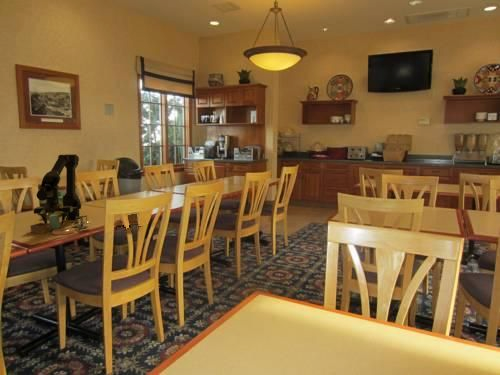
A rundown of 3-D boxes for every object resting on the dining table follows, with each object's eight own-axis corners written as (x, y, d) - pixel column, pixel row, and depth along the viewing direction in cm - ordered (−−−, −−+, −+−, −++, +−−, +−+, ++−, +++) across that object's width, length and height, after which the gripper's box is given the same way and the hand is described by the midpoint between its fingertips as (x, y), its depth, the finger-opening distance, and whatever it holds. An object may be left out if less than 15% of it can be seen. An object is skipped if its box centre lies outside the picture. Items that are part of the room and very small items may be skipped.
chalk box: (48, 216, 237) (46, 193, 235) (51, 213, 246) (50, 190, 243) (64, 215, 239) (62, 192, 237) (67, 212, 248) (65, 190, 246)
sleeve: (41, 229, 204) (40, 222, 204) (50, 230, 202) (50, 223, 202) (31, 232, 198) (30, 225, 197) (40, 234, 196) (40, 226, 195)
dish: (68, 228, 208) (68, 226, 208) (79, 231, 202) (79, 229, 201) (48, 232, 199) (48, 230, 199) (59, 236, 193) (59, 234, 192)
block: (52, 226, 211) (51, 214, 210) (59, 226, 211) (58, 214, 210) (49, 228, 207) (48, 216, 206) (57, 228, 208) (56, 216, 206)
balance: (70, 226, 212) (69, 213, 211) (78, 224, 216) (77, 211, 215) (85, 230, 203) (84, 216, 202) (93, 228, 208) (93, 215, 206)
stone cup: (140, 221, 225) (139, 197, 222) (143, 226, 214) (142, 200, 212) (113, 223, 219) (112, 198, 216) (115, 228, 208) (114, 202, 206)
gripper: (28, 200, 197) (30, 229, 199) (66, 199, 200) (68, 227, 203) (36, 196, 208) (38, 224, 210) (72, 196, 211) (74, 222, 214)
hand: (54, 224), depth 209 cm, fingers open, 8 cm apart
